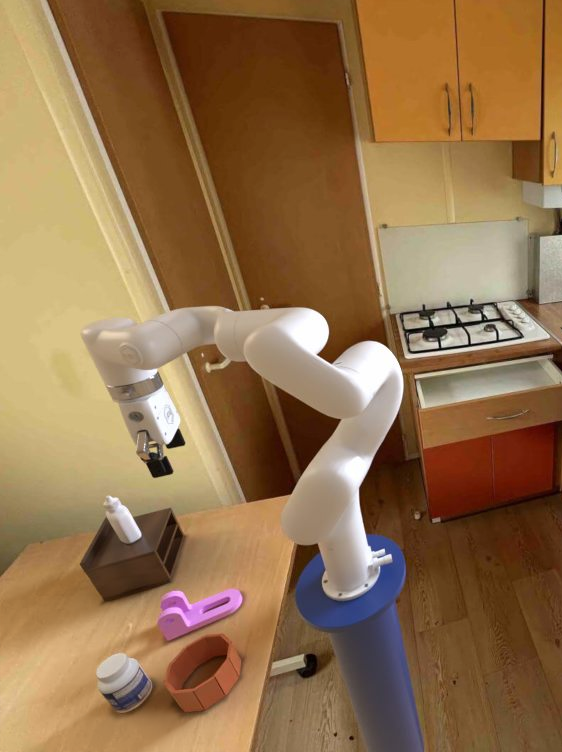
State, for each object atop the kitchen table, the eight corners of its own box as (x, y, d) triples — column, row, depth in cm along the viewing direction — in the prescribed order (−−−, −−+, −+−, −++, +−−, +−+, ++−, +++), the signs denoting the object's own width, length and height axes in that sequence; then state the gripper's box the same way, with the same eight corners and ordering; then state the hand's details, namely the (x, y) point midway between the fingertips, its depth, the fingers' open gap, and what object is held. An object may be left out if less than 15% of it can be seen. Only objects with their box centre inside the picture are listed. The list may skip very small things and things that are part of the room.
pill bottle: (111, 698, 75) (86, 667, 71) (148, 673, 79) (127, 642, 74) (118, 721, 72) (92, 690, 68) (156, 694, 76) (134, 663, 71)
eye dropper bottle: (145, 524, 98) (123, 484, 93) (140, 541, 94) (117, 500, 88) (121, 531, 96) (97, 491, 91) (115, 549, 92) (90, 508, 86)
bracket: (167, 641, 84) (154, 619, 81) (170, 617, 88) (158, 596, 85) (242, 609, 90) (232, 587, 87) (242, 588, 94) (232, 567, 91)
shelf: (185, 536, 107) (168, 501, 102) (171, 581, 96) (150, 544, 90) (127, 552, 103) (105, 516, 98) (104, 601, 92) (79, 564, 86)
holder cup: (243, 643, 84) (234, 624, 81) (236, 697, 75) (226, 678, 72) (185, 664, 80) (173, 646, 77) (170, 723, 72) (157, 705, 69)
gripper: (146, 403, 71) (182, 482, 78) (173, 363, 85) (201, 432, 93) (89, 413, 68) (132, 493, 76) (127, 370, 82) (160, 441, 90)
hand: (170, 460), depth 84 cm, fingers open, 9 cm apart
